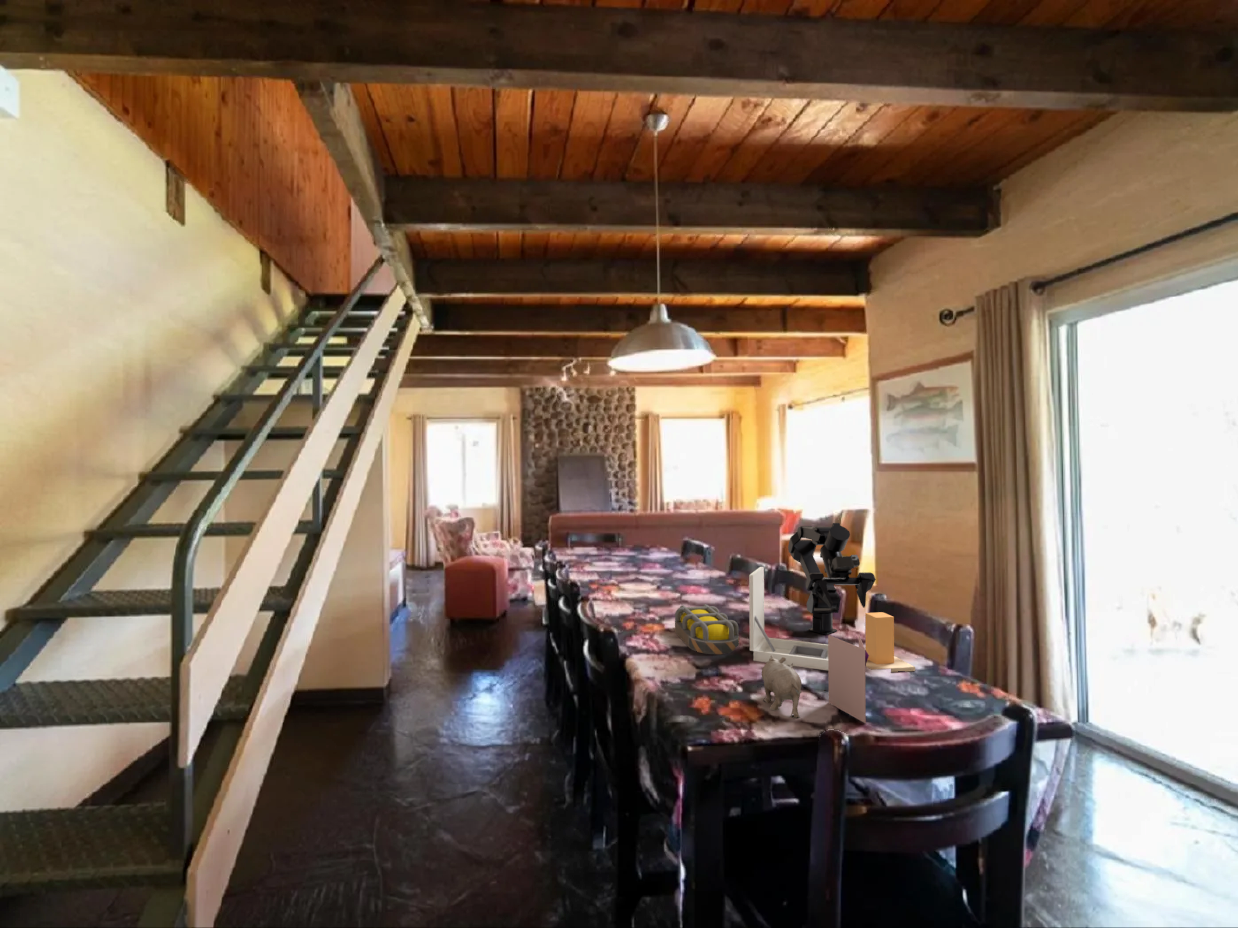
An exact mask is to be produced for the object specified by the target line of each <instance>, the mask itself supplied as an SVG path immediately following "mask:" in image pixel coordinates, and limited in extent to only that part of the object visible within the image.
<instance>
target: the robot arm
mask: <svg viewBox="0 0 1238 928" xmlns="http://www.w3.org/2000/svg"><path fill="white" fill-rule="evenodd" d="M850 537H851V532H850V531H849V529H847V528H846V527H844V526H842V525H841V523H839V522H833V523H832V524H831V526H812V525H810V526H809V525H802V526H798V528H797V531H796V532H795V533H793V535H791V536H790V539H789V540H788V541H789V542H788V545H787V547H788V548H787V550H788V553H789V554H790V556H791V557H792V559H793V561H796V562H798V563H799V564H800V565H801V568H802V570H803V573H804V575H805V577H806V580H805V589H806V591H807V592H810V594H809V597H808V599H807V601H806V610H807V611H808V612H810V613H811V614H812V618H811V619H812V625H811V626H812V627H811V628H808V631H809V632H813V633H818V634H821V635H831V634H832V633H836V632H838V629H837V628H836V629H835V628H833V627H834V625H833V620H834V619H833V614H839V611H840V607H841V597H840V594H839V593H838V592H837V589H836V587H835V586H855V589H856V595H857V597H858V600H859V602H860V605H861V606H862V608H864V609H865V608H866V606H867V605H866V601H867V592H868V591H871V589H872V588H873V586H874V584H875V582H876V576H875V574H874V573H872V572H870V571H869V572H864V571H863V572H858V574H857V576H856V577H850V575H852V573H853V571H852V569H854V568H857V567H858V566H860V558H859V555H858V554H851V555H849V556H847V555H846V556H844V555H843V554H842V552H843V551H845V549H846V545H847V543H848V542H849V540H850ZM817 546H821V548H820V549H819V551H820V552H819V553H820V554H819V557H820V558H821V559H822V562H823V565H824V570H823V571H824V573H826V575H827V576H826V577H825V576H824V573H823V572H821V569H820V568H819V566H818V564H817V561H816V559H815V557H814V556H815V551H816V548H817Z"/></svg>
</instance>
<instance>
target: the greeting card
mask: <svg viewBox="0 0 1238 928" xmlns="http://www.w3.org/2000/svg"><path fill="white" fill-rule="evenodd" d="M827 635H828V636H827V644H828V670H827V672H828V673H827V674H828V675H827V676H828V679H827V681H828V703H829V704H830V705H832V706H833V707H835V708H838V709H839V710H841V711H843V712H845V713H846V714H849V716H852V717H854V718H855V719H856V720H859V721H860V722H862V723H864V724H866V720H867V719H866V717H867V716H866V715H867V714H866V712H867V711H866V709H867V708H866V700H867V699H866V695H867V694H866V668H867V667H866V663H867V660H868V657H869V655H868V653H867V651H866V647H865V646H864V643H863V641H862V639H861V636H860V635H858V645H855V644H852V643H849V642H847V641H844V640H843V639H839V638H838V637H834V636H833V635H831V634H827Z"/></svg>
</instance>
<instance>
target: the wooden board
mask: <svg viewBox="0 0 1238 928" xmlns="http://www.w3.org/2000/svg"><path fill="white" fill-rule="evenodd" d="M865 668H868V669H870V670H871V671H873V670H889V669H890V673H899V672H898V671H905V672H915V671H916V666H915V665H912V664H911V663H908V662H907V661H905V660H903V659H901V658H899V657H897V656H896V655H894V663H888V664H875V663H873V662H872V661H870V660H867V663H866V667H865Z"/></svg>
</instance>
